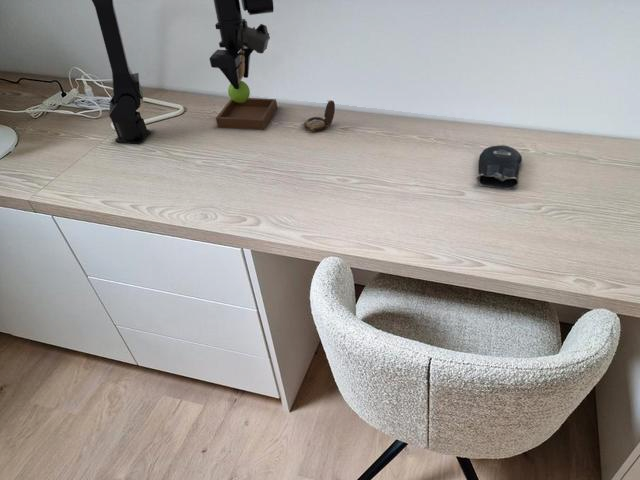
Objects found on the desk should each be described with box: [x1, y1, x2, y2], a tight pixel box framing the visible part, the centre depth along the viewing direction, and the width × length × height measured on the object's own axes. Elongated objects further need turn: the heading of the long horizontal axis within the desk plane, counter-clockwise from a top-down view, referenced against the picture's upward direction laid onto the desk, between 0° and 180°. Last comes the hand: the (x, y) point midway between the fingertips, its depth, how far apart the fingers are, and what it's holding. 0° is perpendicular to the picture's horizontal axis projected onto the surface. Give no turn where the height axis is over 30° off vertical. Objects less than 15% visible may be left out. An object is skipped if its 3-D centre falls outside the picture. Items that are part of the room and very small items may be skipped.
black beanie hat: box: [475, 144, 523, 190], centre depth 110 cm, size 9×6×15 cm
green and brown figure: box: [227, 50, 251, 103], centre depth 124 cm, size 5×6×12 cm
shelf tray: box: [215, 97, 278, 131], centre depth 131 cm, size 13×13×3 cm
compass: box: [304, 99, 336, 133], centre depth 125 cm, size 8×8×7 cm
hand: (241, 83), depth 126 cm, fingers closed on green and brown figure, 7 cm apart
